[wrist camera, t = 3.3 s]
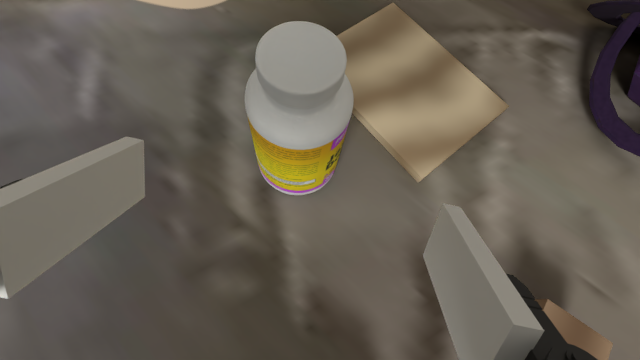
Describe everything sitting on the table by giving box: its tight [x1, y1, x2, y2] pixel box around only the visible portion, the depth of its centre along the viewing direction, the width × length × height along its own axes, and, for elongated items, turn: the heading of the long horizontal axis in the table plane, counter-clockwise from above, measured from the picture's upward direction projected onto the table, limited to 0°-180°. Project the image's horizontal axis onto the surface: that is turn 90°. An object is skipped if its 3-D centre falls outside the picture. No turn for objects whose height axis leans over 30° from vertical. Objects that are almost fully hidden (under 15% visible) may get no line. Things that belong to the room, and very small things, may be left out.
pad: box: [337, 3, 509, 183], centre depth 32 cm, size 16×12×1 cm
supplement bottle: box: [245, 21, 354, 195], centre depth 23 cm, size 7×7×13 cm
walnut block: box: [535, 299, 613, 360], centre depth 23 cm, size 4×4×4 cm
